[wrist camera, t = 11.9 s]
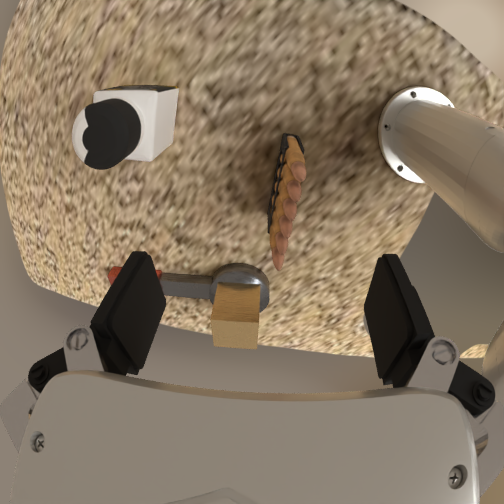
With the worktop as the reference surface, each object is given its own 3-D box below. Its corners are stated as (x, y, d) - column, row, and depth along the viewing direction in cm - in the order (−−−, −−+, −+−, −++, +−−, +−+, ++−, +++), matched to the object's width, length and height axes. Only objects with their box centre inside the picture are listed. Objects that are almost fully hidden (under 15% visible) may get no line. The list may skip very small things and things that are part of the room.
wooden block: (260, 284, 39) (258, 322, 33) (258, 312, 43) (256, 349, 37) (218, 281, 39) (210, 319, 34) (220, 309, 43) (213, 346, 37)
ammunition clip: (283, 132, 29) (292, 166, 19) (299, 135, 29) (316, 171, 19) (267, 213, 35) (266, 276, 26) (281, 215, 35) (286, 279, 26)
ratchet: (271, 264, 40) (271, 294, 35) (267, 306, 46) (266, 336, 41) (109, 255, 41) (93, 279, 36) (123, 294, 46) (111, 319, 41)
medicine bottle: (180, 86, 26) (133, 96, 16) (173, 144, 30) (130, 182, 21) (124, 84, 25) (62, 99, 16) (121, 139, 30) (65, 175, 20)
